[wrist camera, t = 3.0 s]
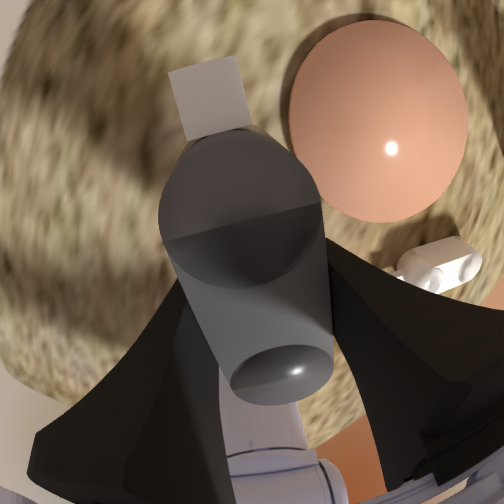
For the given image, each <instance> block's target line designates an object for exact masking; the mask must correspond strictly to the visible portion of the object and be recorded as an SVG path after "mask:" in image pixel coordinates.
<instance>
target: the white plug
mask: <svg viewBox="0 0 504 504" xmlns="http://www.w3.org/2000/svg"><path fill="white" fill-rule="evenodd" d="M481 263H482V256H481V254H480V253H479V252H478V251H476V250H475V249H474V248H473V247H472V246H471V245H469V244H468V243H467V242H466V241H465V240H463V239H462V238H461V237H460V236H458V235H454V236H451V237H448V238H445V239H441V240H438V241H435V242H432V243H428V244H425V245H422V246H418V247H415V248H412V249H409V250H408V251H406V252H405V253H404V254H403V255H402V256H401V257H400V259H399V261H398V263H397V267H396V271H395V272H392V273H388V274H390V275H392V276H394V277H396V278H399V279H401V280H403V281H405V282H407V283H410V284H412V285H415V286H417V287H420V288H422V289H424V290H427V291H430V292H433V293H435V294H439V293H441V292H444V291H446V290H449V289H451V288H453V287H456V286H458V285H461V284H463V283H465V282H468V281H469V280H471V279H472V278H473V277H474V276H475V275H476V274H477V272H478V271H479V269H480V266H481Z"/></svg>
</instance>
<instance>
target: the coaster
mask: <svg viewBox="0 0 504 504" xmlns="http://www.w3.org/2000/svg"><path fill="white" fill-rule="evenodd" d="M288 125H289V133H290V139H291V143H292V147H293V151H294V154H295V156H296V158H297V159H298V160H299V161H300V162H301V163H302V164H303V165H304V166H305V167H306V168H307V170H308V171H309V172H310V174H311V176H312V177H313V179H314V181H315V183H316V186H317V188H318V191H319V194H320V195H321V196H322V197H323V198H324V200H325V201H327V202H328V203H329V204H330V205H332V206H333V207H334V208H336V209H337V210H339V211H341V212H342V213H344V214H346V215H348V216H351V217H353V218H356V219H359V220H363V221H367V222H377V223H381V222H393V221H398V220H402V219H405V218H408V217H410V216H412V215H415V214H417V213H419V212H420V211H422V210H423V209H425V208H427V207H428V206H429V205H430V204H432V203H433V202H434V201H435V200H436V199H437V198H438V197H439V196H440V195H441V194H442V193H443V192H444V191H445V189H446V188H447V187H448V185H449V184H450V182H451V181H452V179H453V177H454V176H455V174H456V172H457V170H458V168H459V165H460V163H461V160H462V157H463V154H464V150H465V145H466V139H467V129H468V118H467V108H466V102H465V97H464V94H463V91H462V87H461V84H460V82H459V80H458V77H457V75H456V73H455V71H454V70H453V68H452V66H451V64H450V63H449V62H448V60H447V59H446V57H445V56H444V55H443V54H442V52H441V51H440V50H439V49H438V48H437V47H436V46H435V45H434V44H433V43H432V42H430V41H429V40H428V39H427V38H425V37H424V36H423V35H421V34H419V33H418V32H416V31H415V30H412V29H410V28H408V27H406V26H404V25H400V24H397V23H394V22H389V21H381V20H367V21H361V22H356V23H352V24H350V25H347V26H344V27H341V28H339V29H337V30H335V31H334V32H332V33H330V34H328V35H327V36H325V37H324V38H323V39H322V40H321V41H319V42H318V43H317V44H316V45H315V46H314V47H313V48H312V50H311V51H310V52H309V53H308V54H307V56H306V57H305V59H304V60H303V62H302V64H301V65H300V67H299V70H298V72H297V74H296V76H295V79H294V82H293V85H292V89H291V93H290V99H289V106H288Z"/></svg>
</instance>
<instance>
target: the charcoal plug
mask: <svg viewBox="0 0 504 504" xmlns="http://www.w3.org/2000/svg"><path fill="white" fill-rule="evenodd" d="M168 75H169V79H170V82H171V86H172V90H173V93H174V97H175V101H176V104H177V108H178V111H179V115H180V119H181V122H182V126H183V129H184V133H185V136H186V140H187V141H189V142H188V144H187V145H186V147H185V148H184V150H183V151H182V153H181V155H180V157H179V159H178V161H177V163H176V165H175V167H174V169H173V171H172V173H171V175H170V177H169V179H168V181H167V183H166V185H165V188H164V190H163V192H162V195H161V199H160V203H159V210H158V224H159V230H160V234H161V237H162V240H163V243H164V246H165V248H166V251H167V253H168V256H169V258H170V260H171V263H172V265H173V267H174V270H175V272H176V274H177V277H178V279H179V281H180V284H181V286H182V288H183V291H184V293H185V295H186V297H187V299H188V302H189V304H190V306H191V308H192V310H193V313H194V315H195V317H196V319H197V321H198V323H199V326H200V328H201V330H202V332H203V334H204V336H205V338H206V340H207V342H208V344H209V346H210V348H211V350H212V352H213V354H214V356H215V358H216V360H217V362H218V364H219V366H220V368H221V370H222V372H223V374H224V376H225V378H226V380H227V382H228V384H229V386H230V388H231V390H232V391H233V393H234V394H235V395H236V396H237V397H238V398H240V399H241V400H243V401H245V402H248V403H251V404H255V405H263V406H275V405H284V404H288V403H292V402H296V401H299V400H301V399H304V398H306V397H308V396H310V395H312V394H313V393H315V392H316V391H318V390H319V389H320V388H322V387H323V386H324V385H325V384H326V383H327V381H328V380H329V379H330V377H331V375H332V373H333V370H334V354H333V331H332V313H331V298H330V285H329V273H328V261H327V251H326V241H325V232H324V223H323V215H322V207H321V200H320V195H319V191H318V188H317V186H316V183H315V181H314V179H313V177H312V176H311V174H310V172H309V171H308V170H307V168H306V167H305V166H304V165H303V164H302V163H301V162H300V161H299V160H298V159H297V158H296V157H295V156H294V155H293V154H292V153H290V152H289V151H288V150H287V149H286V148H285V147H283V146H282V145H281V144H280V143H279V142H277V141H276V140H275V139H274V138H273V137H271V136H270V135H269V134H268V133H266V132H265V131H263V130H262V129H260V128H258V127H256V126H254V125H252V122H251V117H250V113H249V109H248V105H247V100H246V96H245V92H244V88H243V84H242V80H241V76H240V71H239V67H238V63H237V59H236V55H232V56H227V57H223V58H218V59H214V60H210V61H206V62H202V63H198V64H195V65H191V66H187V67H184V68H181V69H177V70H174V71H171V72H168Z"/></svg>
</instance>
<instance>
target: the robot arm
mask: <svg viewBox="0 0 504 504" xmlns="http://www.w3.org/2000/svg"><path fill="white" fill-rule="evenodd" d="M325 241H326V251H327V261H328V273H329V285H330V298H331V313H332V331H333V335H334V337H335V339H336V341H337V343H338V345H339V347H340V349H341V351H342V353H343V355H344V357H345V359H346V361H347V363H348V365H349V367H350V369H351V371H352V374H353V376H354V378H355V381H356V384H357V387H358V390H359V393H360V395H361V398H362V401H363V404H364V407H365V410H366V414H367V417H368V420H369V423H370V426H371V430H372V433H373V437H374V440H375V444H376V447H377V451H378V455H379V459H380V464H381V468H382V472H383V476H384V481H385V486H386V488H387V492H388V493H386V494H383V495H380V496H378V497H375V498H372V499H370V500H367V501H364V502H361V503H358V504H420V503H422V502H425V501H427V500H429V499H431V498H432V497H435V496H436V495H438V494H440V493H442V492H444V491H446V490H448V489H449V488H451V487H453V486H455V485H456V484H458V483H460V482H461V481H463V480H465V479H466V478H468V477H469V479H468V480H467V484H466V487H465V488H464V489H463V490H461V491H460V492H458V493H456V494H454V495H453V496H451V497H449V498H447V499H445V500H444V501H442V502H440V503H438V504H504V310H497V309H491V308H486V307H482V306H477V305H473V304H469V303H465V302H461V301H457V300H454V299H451V298H448V297H445V296H441V295H438V294H435V293H433V292H430V291H427V290H424V289H422V288H420V287H417V286H415V285H412V284H410V283H407V282H405V281H403V280H401V279H399V278H396V277H394V276H392V275H390V274H388V273H387V272H385V271H383V270H381V269H379V268H377V267H375V266H373V265H371V264H370V263H368V262H366V261H364V260H363V259H361V258H359V257H358V256H356V255H354V254H352V253H351V252H349V251H348V250H346V249H344V248H343V247H341V246H339V245H338V244H336V243H335V242H333V241H331V240H330V239H328V238H325ZM27 475H28V477H29V478H30V480H32V481H33V482H34V483H35V484H37V485H39V486H40V487H42V488H44V489H45V490H48V491H49V492H51V493H53V494H55V495H57V496H59V497H61V498H64V499H66V500H68V501H70V502H72V503H75V504H349V503H348V495H347V491H346V487H345V483H344V480H343V478H342V476H341V473H340V472H339V470H338V468H337V467H336V466H335V465H333V464H332V463H330V462H329V461H328V460H327V459H319V460H318V458H317V454H316V450H315V449H312V450H309V448H308V444H307V440H306V436H305V432H304V428H303V424H302V420H301V416H300V412H299V408H298V404H297V401H296V402H292V403H288V404H284V405H275V406H263V405H255V404H251V403H248V402H245V401H243V400H241V399H240V398H238V397H237V396H236V395H235V394H234V393H233V391H232V390H231V388H230V386H229V384H228V382H227V380H226V378H225V376H224V374H223V372H222V370H221V368H220V366H219V364H218V362H217V360H216V358H215V356H214V354H213V352H212V350H211V348H210V346H209V344H208V342H207V340H206V338H205V336H204V334H203V332H202V330H201V328H200V326H199V323H198V321H197V319H196V317H195V315H194V313H193V310H192V308H191V306H190V304H189V302H188V299H187V297H186V295H185V293H184V291H183V288H182V286H181V284H180V281H179V279H178V278H177V280H176V281H175V283H174V284H173V286H172V288H171V289H170V291H169V292H168V294H167V296H166V297H165V299H164V300H163V302H162V304H161V305H160V307H159V308H158V310H157V311H156V313H155V315H154V316H153V317H152V319H151V320H150V322H149V323H148V325H147V326H146V327H145V329H144V330H143V332H142V333H141V335H140V336H139V337H138V339H137V340H136V341H135V343H134V344H133V345H132V347H131V348H130V349H129V350H128V352H127V353H126V354H125V355H124V356H123V357H122V359H121V360H120V361H119V362H118V363H117V364H116V366H115V367H114V368H113V369H112V370H111V371H110V372H109V373H108V374H107V375H106V376H105V377H104V378H103V379H102V380H101V381H100V382H99V383H98V384H97V385H96V386H95V387H94V388H93V389H92V390H91V391H90V392H89V393H88V394H87V395H86V396H84V397H83V398H82V399H81V400H80V401H79V402H77V403H76V404H75V405H74V406H73V407H71V408H70V409H69V410H68V411H66V412H65V413H64V414H63V415H61V416H60V417H58V418H57V419H56V420H54V421H53V422H52V423H50V424H49V425H47V426H46V427H44V428H43V429H42V430H40V431H38V432H37V433H36V435H35V438H34V443H33V446H32V451H31V456H30V460H29V464H28V469H27ZM0 504H37V503H36V502H34V501H32V500H30V499H28V498H26V497H24V496H22V495H20V494H18V493H15V492H13V491H11V490H8V489H5V488H3V487H1V486H0Z"/></svg>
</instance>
